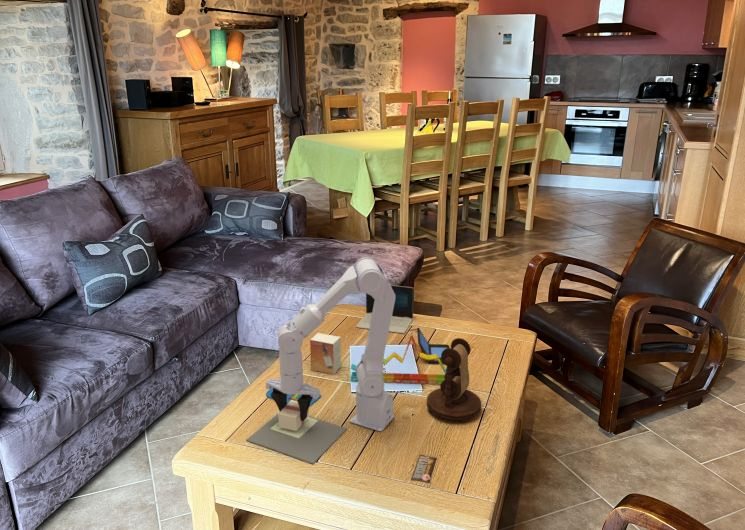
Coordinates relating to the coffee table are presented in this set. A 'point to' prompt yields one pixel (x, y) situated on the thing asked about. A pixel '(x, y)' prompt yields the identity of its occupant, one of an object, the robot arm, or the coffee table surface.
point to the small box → (325, 353)
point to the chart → (408, 377)
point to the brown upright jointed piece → (455, 386)
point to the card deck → (291, 416)
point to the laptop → (401, 309)
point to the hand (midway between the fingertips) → (293, 416)
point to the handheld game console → (430, 348)
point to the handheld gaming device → (291, 397)
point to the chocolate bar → (424, 469)
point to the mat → (298, 438)
